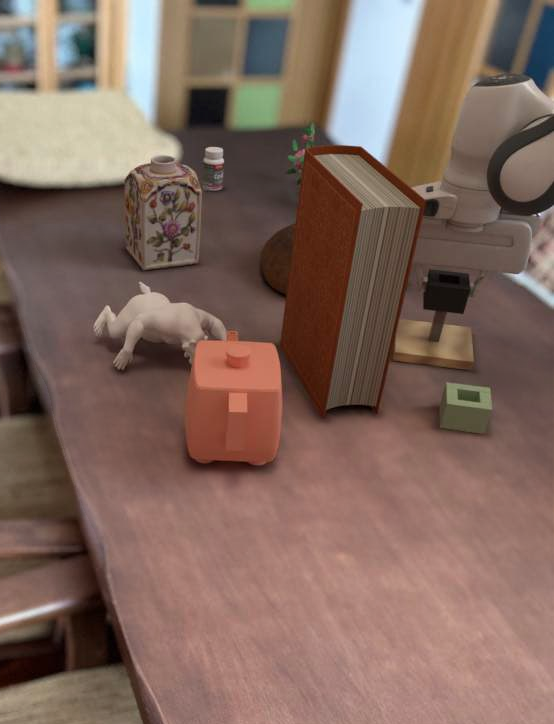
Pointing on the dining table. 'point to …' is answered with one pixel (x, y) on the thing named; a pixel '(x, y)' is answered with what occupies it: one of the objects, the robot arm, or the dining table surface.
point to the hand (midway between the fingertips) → (445, 292)
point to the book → (348, 274)
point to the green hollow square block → (465, 408)
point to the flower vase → (299, 157)
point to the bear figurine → (158, 324)
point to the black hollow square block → (446, 291)
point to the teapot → (234, 401)
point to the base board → (434, 343)
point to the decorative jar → (163, 214)
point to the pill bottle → (213, 168)
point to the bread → (279, 258)
